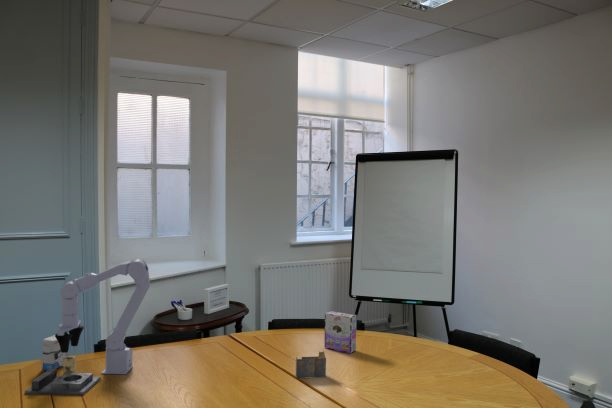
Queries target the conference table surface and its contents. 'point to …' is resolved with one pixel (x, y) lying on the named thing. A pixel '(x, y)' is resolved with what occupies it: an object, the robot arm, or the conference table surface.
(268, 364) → the conference table surface
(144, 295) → the robot arm
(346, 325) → the candy box
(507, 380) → the conference table surface
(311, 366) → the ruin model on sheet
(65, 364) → the bushing
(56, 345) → the ink box
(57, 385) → the jig
